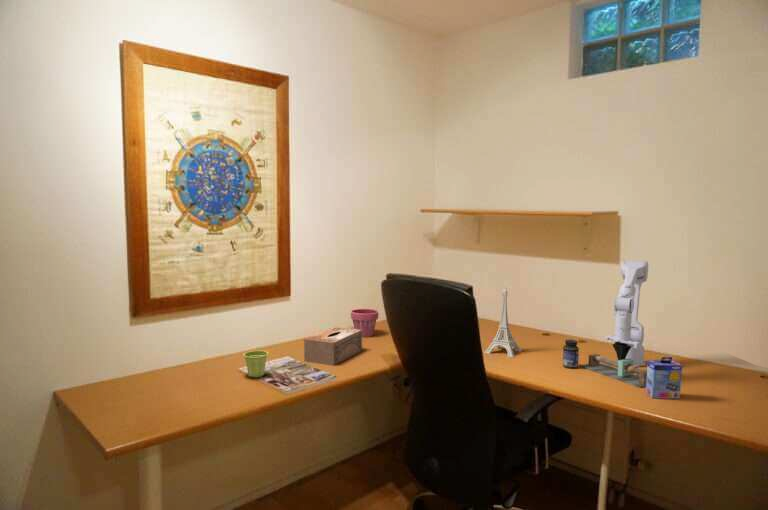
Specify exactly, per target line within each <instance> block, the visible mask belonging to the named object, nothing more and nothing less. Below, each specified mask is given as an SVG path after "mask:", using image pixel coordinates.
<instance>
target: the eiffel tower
mask: <svg viewBox="0 0 768 510" xmlns="http://www.w3.org/2000/svg"><path fill="white" fill-rule="evenodd" d="M501 295H502V301H501V302H502V304H501V305H502V306H501V315H500V319H499V320H500V321H499V325H498V329H497V333H496V335H495V337H494V338H492V342H491V344H489V346H488V348H487V349H486V350H485V351H484V354H489V355H491V354H492V351H493V349H500V348H501V347H500V346H502V347H504V348H505V349H506V352H507V355H506V357H508V358H515V356H516V355H515V354H514V352H517V351H518V353H521V352H522V351H523V350H522V348H521V347H520V346H519V345H518V343H517V342H516V340H515V338H514V337H513V335H512V333H511V330H510V325H509V319H508V305H507V304H508V303H507V298H508V290H507V288H506V287H503V290H502V293H501ZM513 348H514V351H513ZM490 353H491V354H490Z"/></svg>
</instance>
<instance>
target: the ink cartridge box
mask: <svg viewBox="0 0 768 510" xmlns="http://www.w3.org/2000/svg"><path fill="white" fill-rule="evenodd" d="M646 365H647V367H646V370H647V381H646V387H645V393H646V394H647V395H648V396H649V397H650V398H652V399H672V400H673V399H677V400H678V399H679V400H680V397H681V396H680V395H681V386H682V385H681V384H682V373H683V365H682V364H681V363H679V362H677V361H676V360H673V356H662V357H661V358H660V360H659V359H656V360H655V359H653V360H650V359H649V360H647V364H646Z"/></svg>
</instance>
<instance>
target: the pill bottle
mask: <svg viewBox="0 0 768 510" xmlns="http://www.w3.org/2000/svg"><path fill="white" fill-rule="evenodd" d="M564 343H565V345H564V346H563V347H562V348H563V349H562V350H563V351H562V366H563V367H564V368H567V369H571V370H572V369H575V370H576V369H578V368H579V357H580V356H579V354H580V351H579V349H580V348H579V347H578V341H577V340H575V339H566V340H565V341H564Z"/></svg>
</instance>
